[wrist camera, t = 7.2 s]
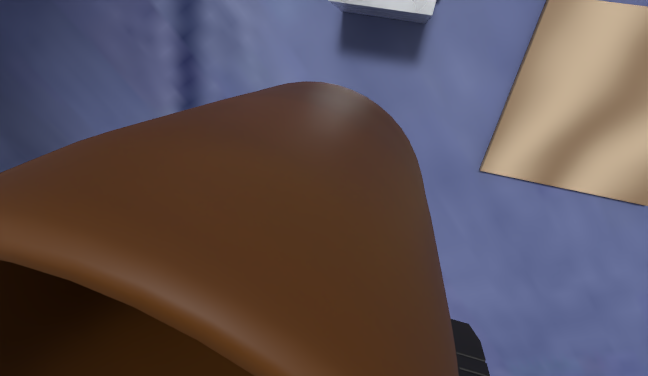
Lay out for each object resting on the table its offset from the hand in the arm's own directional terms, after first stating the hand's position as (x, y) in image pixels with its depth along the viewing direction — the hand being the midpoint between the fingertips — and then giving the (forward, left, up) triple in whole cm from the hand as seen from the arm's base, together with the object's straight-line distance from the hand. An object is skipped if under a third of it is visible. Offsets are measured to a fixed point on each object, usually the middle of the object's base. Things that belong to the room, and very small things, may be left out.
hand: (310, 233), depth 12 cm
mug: (0, 0, -1) cm, 1 cm away
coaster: (+16, +6, -15) cm, 23 cm away
